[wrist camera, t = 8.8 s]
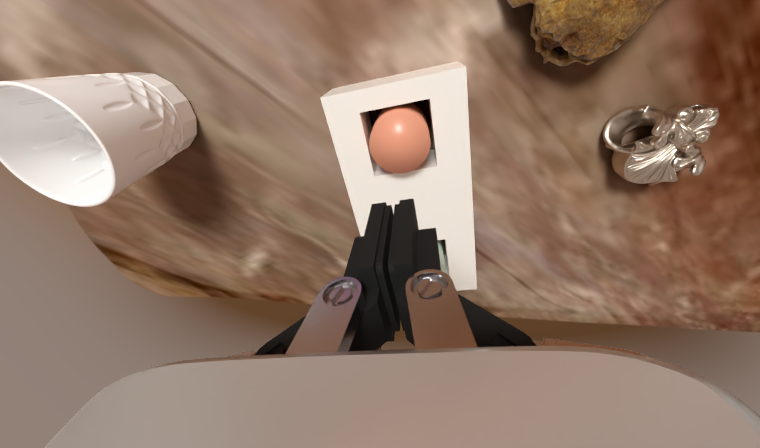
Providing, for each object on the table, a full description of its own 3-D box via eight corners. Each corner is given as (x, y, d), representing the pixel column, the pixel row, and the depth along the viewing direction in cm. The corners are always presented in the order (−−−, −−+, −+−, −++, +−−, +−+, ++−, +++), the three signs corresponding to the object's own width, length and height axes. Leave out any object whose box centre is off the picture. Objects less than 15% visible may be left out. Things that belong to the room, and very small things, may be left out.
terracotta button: (424, 96, 23) (426, 107, 20) (430, 150, 26) (433, 168, 22) (369, 107, 24) (362, 119, 21) (380, 158, 26) (376, 177, 23)
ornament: (719, 132, 24) (764, 147, 21) (634, 192, 27) (663, 213, 24) (663, 66, 22) (704, 72, 19) (579, 140, 25) (602, 156, 22)
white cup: (222, 126, 27) (138, 170, 19) (172, 170, 30) (80, 225, 22) (145, 42, 24) (1, 48, 15) (97, 100, 27) (-45, 132, 18)
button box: (457, 61, 23) (466, 66, 19) (470, 262, 33) (476, 289, 30) (332, 88, 24) (320, 97, 21) (381, 271, 35) (378, 297, 31)
